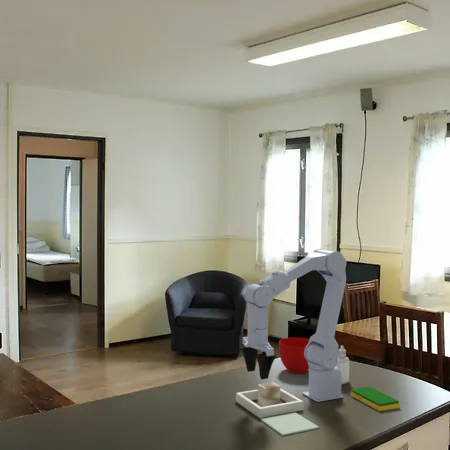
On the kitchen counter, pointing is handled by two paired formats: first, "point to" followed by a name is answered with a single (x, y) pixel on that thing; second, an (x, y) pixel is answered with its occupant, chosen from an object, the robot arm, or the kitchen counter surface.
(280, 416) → the pad
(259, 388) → the birch block
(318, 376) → the robot arm
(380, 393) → the dish sponge
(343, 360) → the eye dropper bottle
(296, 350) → the ceramic cup
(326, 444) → the kitchen counter surface
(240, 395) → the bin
